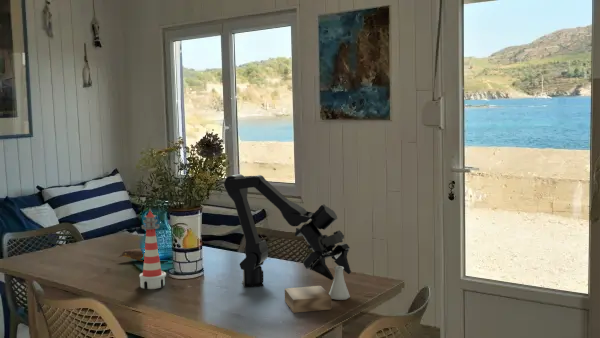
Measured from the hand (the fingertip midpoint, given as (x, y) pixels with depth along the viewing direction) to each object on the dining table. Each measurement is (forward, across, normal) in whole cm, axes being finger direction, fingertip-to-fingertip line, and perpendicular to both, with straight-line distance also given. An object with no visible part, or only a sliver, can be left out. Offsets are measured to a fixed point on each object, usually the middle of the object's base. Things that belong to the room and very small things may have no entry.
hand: (341, 276), depth 201 cm
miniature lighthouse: (-37, -31, +47) cm, 67 cm away
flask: (+4, 0, +6) cm, 7 cm away
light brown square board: (+2, -13, +8) cm, 15 cm away
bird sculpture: (-59, -11, +69) cm, 91 cm away
